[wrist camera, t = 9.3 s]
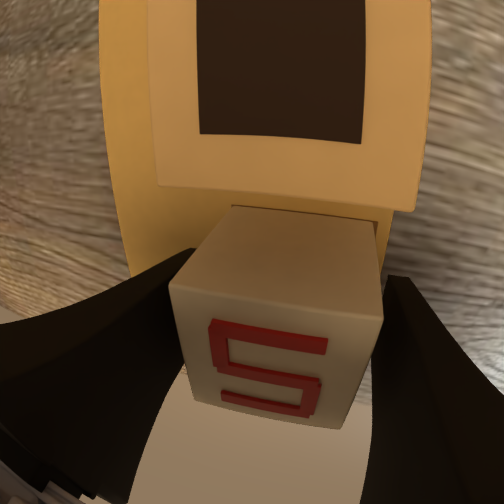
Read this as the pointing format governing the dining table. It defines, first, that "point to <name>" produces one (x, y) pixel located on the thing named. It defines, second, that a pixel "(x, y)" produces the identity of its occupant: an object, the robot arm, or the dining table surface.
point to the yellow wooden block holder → (261, 113)
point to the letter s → (280, 314)
